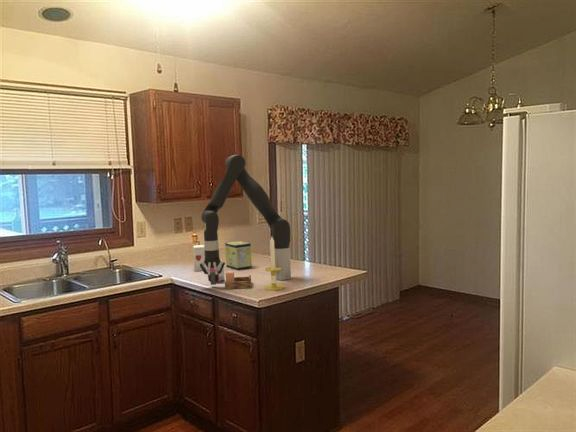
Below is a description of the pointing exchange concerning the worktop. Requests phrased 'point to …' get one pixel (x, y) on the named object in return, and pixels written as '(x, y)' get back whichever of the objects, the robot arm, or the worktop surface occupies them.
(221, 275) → the supplement box
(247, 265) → the protein box
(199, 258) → the supplement box
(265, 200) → the robot arm
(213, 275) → the lopsided dumbbell
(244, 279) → the shelf
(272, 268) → the candle
